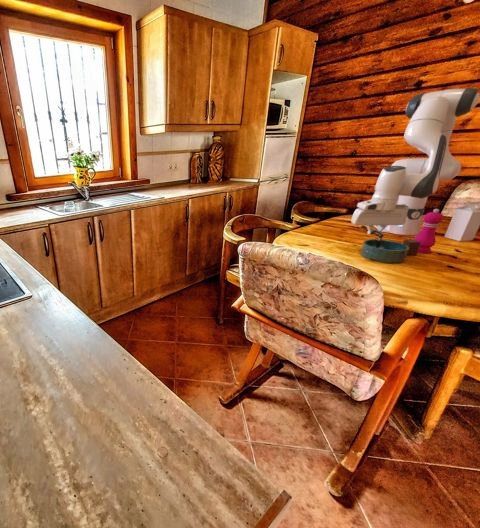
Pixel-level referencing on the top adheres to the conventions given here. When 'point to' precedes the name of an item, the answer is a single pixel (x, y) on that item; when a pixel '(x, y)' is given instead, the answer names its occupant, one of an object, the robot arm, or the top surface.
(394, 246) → the bowl
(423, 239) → the pepper mill
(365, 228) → the dark grey angled piece
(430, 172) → the robot arm
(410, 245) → the dark brown block
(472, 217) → the milk carton
